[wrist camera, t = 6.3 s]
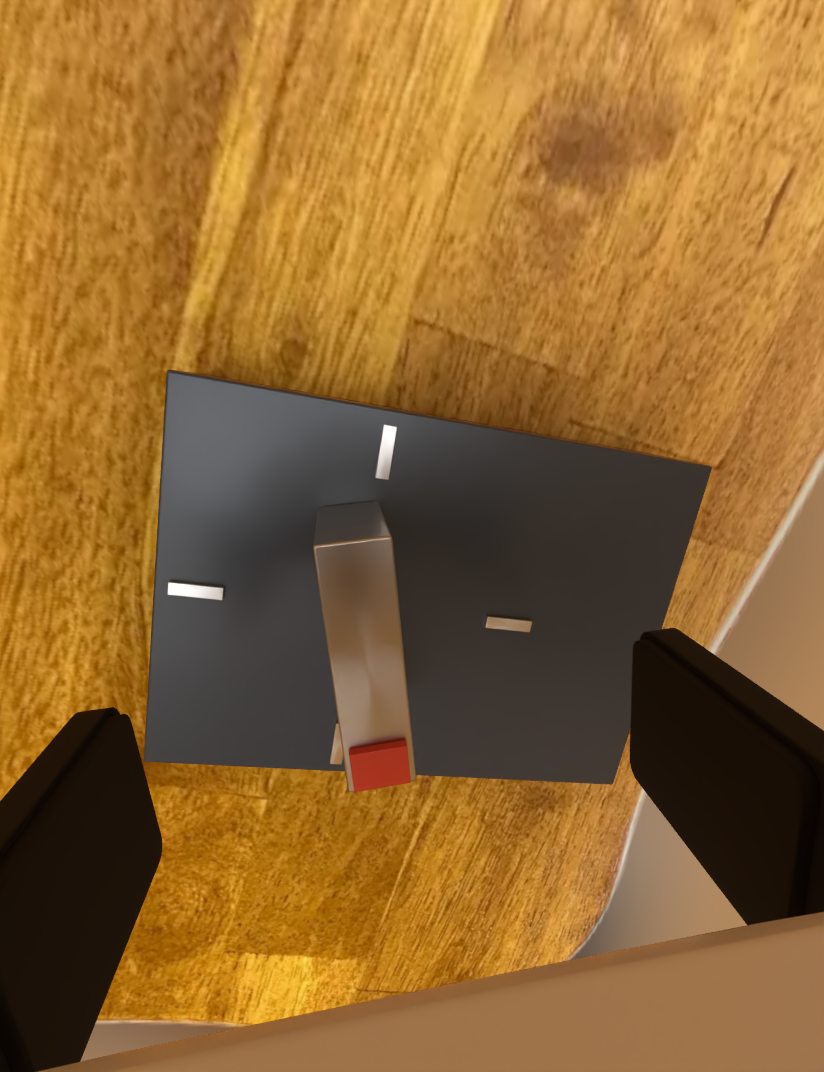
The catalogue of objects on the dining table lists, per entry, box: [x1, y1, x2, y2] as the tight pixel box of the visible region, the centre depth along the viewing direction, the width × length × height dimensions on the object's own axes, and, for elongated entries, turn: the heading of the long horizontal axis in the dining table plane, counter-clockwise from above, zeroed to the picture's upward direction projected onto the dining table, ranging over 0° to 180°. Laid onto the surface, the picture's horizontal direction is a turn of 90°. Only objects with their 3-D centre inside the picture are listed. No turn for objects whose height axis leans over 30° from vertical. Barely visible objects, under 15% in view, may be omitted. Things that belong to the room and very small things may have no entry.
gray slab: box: [313, 501, 416, 792], centre depth 13 cm, size 6×2×4 cm, turn 5°
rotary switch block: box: [144, 370, 712, 784], centre depth 17 cm, size 15×11×4 cm
